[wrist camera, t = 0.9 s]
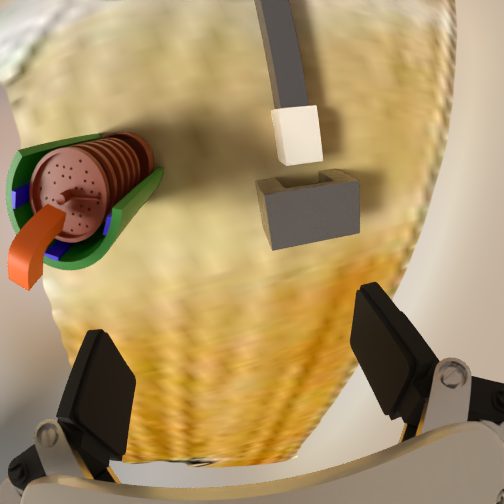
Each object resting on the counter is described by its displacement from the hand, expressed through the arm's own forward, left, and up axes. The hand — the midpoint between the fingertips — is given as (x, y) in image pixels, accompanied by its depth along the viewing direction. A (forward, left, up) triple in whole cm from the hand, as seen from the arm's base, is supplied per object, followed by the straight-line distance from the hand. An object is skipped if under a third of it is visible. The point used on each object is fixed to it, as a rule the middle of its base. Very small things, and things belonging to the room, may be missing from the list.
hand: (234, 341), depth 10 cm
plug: (-12, +9, -25) cm, 29 cm away
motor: (-4, -11, -25) cm, 28 cm away
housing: (+4, +9, -25) cm, 26 cm away
